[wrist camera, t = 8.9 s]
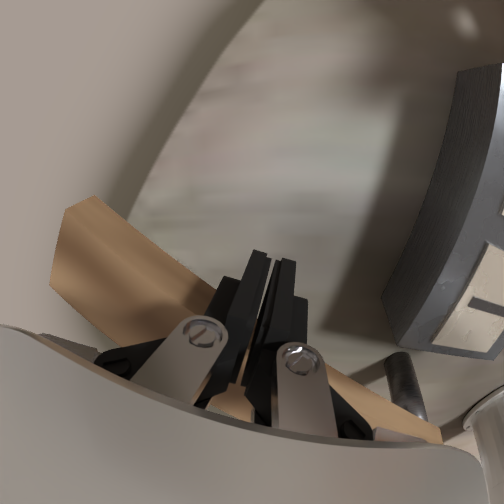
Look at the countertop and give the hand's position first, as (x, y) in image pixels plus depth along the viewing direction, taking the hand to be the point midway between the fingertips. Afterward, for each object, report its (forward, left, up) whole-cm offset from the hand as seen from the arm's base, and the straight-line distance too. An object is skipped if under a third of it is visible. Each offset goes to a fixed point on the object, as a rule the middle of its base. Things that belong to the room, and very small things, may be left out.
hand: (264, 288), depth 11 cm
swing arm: (-4, +7, -1) cm, 8 cm away
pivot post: (-16, +12, -11) cm, 23 cm away
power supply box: (-16, -5, -11) cm, 20 cm away
